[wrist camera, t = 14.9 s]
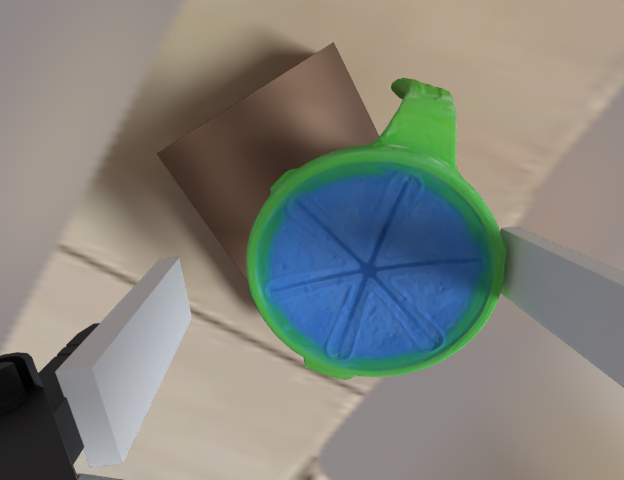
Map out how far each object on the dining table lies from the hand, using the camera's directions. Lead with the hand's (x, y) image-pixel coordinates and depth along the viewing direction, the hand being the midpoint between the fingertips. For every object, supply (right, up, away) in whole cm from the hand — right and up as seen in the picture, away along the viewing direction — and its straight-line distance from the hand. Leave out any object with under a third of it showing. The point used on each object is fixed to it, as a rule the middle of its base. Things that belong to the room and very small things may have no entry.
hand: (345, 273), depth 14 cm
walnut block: (-2, +5, +15) cm, 16 cm away
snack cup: (+2, +3, +9) cm, 10 cm away
